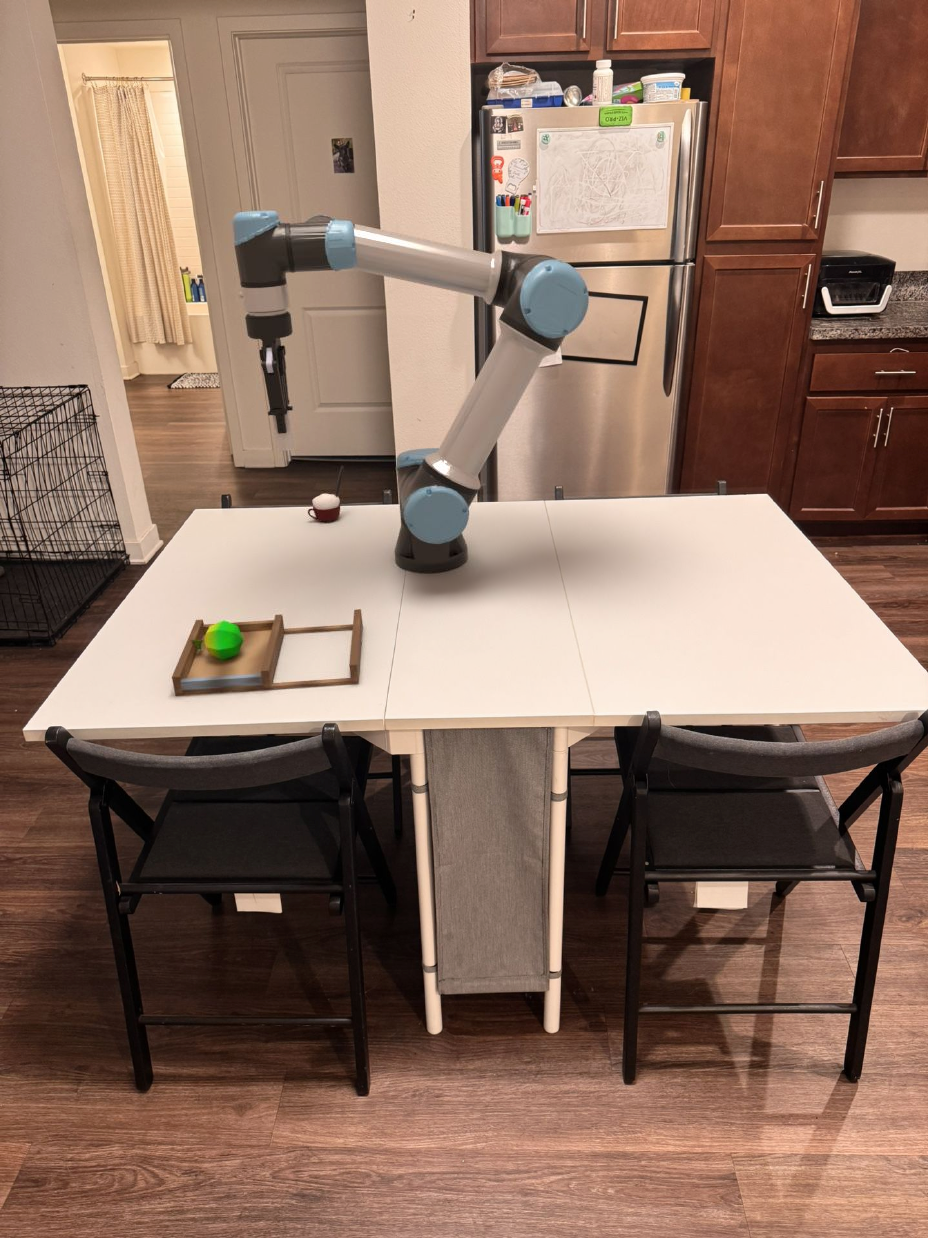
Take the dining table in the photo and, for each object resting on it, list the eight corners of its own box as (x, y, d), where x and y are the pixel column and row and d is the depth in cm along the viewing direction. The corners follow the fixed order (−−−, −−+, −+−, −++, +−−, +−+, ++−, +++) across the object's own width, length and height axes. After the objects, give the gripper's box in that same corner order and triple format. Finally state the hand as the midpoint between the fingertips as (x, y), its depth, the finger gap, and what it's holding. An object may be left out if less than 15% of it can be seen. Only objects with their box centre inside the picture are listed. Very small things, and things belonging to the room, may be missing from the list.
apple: (240, 614, 154) (186, 616, 154) (237, 650, 152) (182, 652, 152) (249, 630, 161) (197, 632, 161) (247, 664, 158) (195, 666, 158)
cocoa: (309, 526, 214) (300, 477, 208) (312, 516, 219) (303, 467, 213) (349, 523, 214) (342, 473, 208) (352, 512, 219) (344, 464, 213)
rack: (362, 626, 167) (361, 609, 165) (358, 683, 149) (356, 664, 147) (199, 637, 166) (196, 619, 164) (175, 696, 148) (171, 677, 146)
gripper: (250, 307, 160) (268, 440, 171) (238, 319, 149) (259, 461, 160) (293, 304, 161) (309, 437, 171) (285, 316, 149) (303, 458, 160)
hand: (285, 449), depth 165 cm, fingers closed
